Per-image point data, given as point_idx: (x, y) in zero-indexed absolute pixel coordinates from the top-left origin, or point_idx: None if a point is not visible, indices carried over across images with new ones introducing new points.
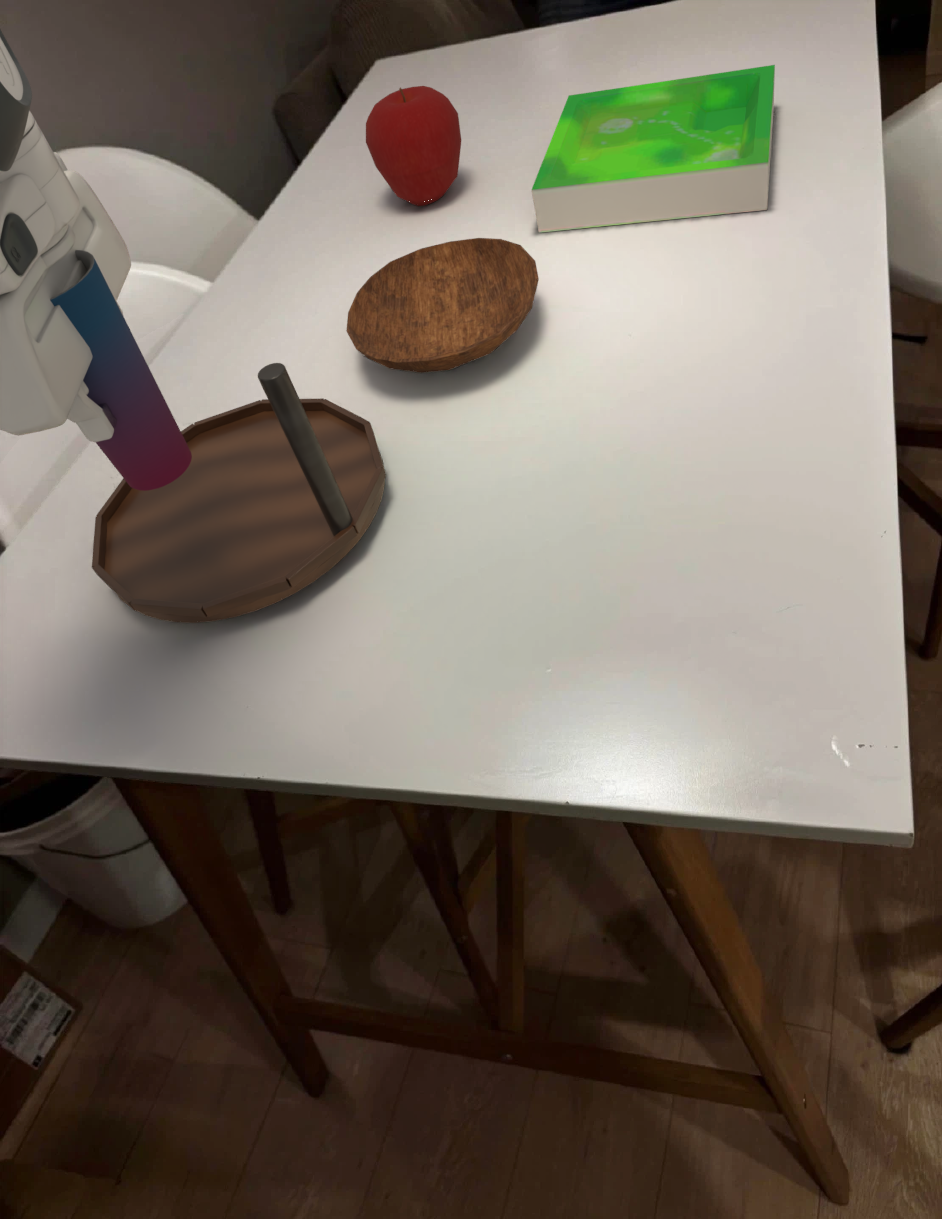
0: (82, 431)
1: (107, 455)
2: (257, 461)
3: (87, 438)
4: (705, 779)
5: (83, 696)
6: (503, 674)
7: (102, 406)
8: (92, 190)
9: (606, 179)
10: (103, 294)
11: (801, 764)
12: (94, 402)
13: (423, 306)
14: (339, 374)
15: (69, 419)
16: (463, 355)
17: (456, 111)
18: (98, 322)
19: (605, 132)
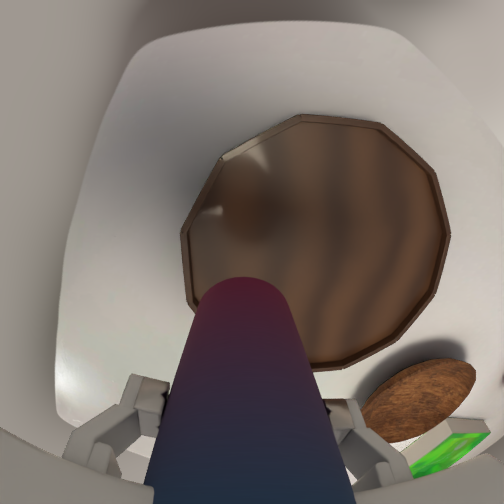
0: (126, 387)
1: (205, 319)
2: (371, 282)
3: (129, 376)
4: (65, 395)
5: (171, 94)
6: (113, 367)
7: (152, 435)
8: None
9: (424, 456)
10: None
11: (72, 413)
12: (121, 452)
13: (442, 379)
14: (437, 326)
15: (104, 411)
16: None
17: None
18: None
19: (461, 442)
